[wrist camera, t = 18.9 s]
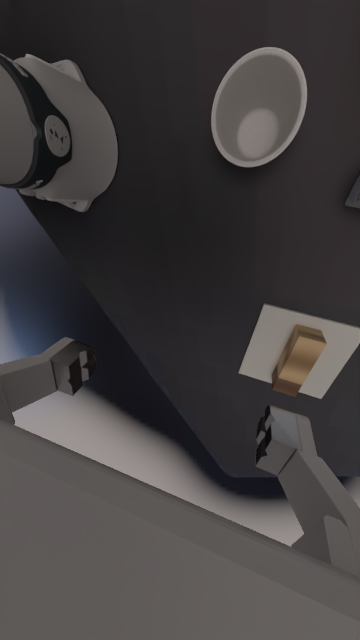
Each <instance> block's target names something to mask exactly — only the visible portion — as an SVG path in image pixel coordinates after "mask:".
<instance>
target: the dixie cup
mask: <svg viewBox="0 0 360 640" xmlns="http://www.w3.org/2000/svg"><path fill="white" fill-rule="evenodd" d="M306 102H307V85H306V79H305V76H304V73H303V70H302V68H301V66H300V64H299V63H298V61H297V60H296V59H295V58H294V57H293V56H292V55H291V54H290V53H288V52H287V51H285V50H283V49H280V48H275V47H265V48H260V49H257V50H254V51H252V52H250V53H248V54H246V55H245V56H243V57H242V58H241V59H239V60H238V61H237V62H236V63H235V64H234V65H233V66H232V67H231V68H230V70H229V71H228V72H227V74H226V75H225V77H224V78H223V80H222V82H221V84H220V86H219V88H218V90H217V93H216V95H215V99H214V102H213V107H212V115H211V127H212V134H213V138H214V141H215V144H216V146H217V148H218V150H219V151H220V153H221V154H222V155H223V156H224V157H225V158H226V159H227V160H228V161H229V162H231V163H233V164H235V165H237V166H241V167H256V166H260V165H263V164H265V163H267V162H269V161H271V160H273V159H274V158H276V157H277V156H278V155H279V154H281V153H282V152H283V151H284V150H285V149H286V147H287V146H288V145H289V144H290V143H291V141H292V140H293V138H294V137H295V135H296V133H297V131H298V129H299V127H300V125H301V122H302V120H303V117H304V113H305V109H306Z"/></svg>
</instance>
